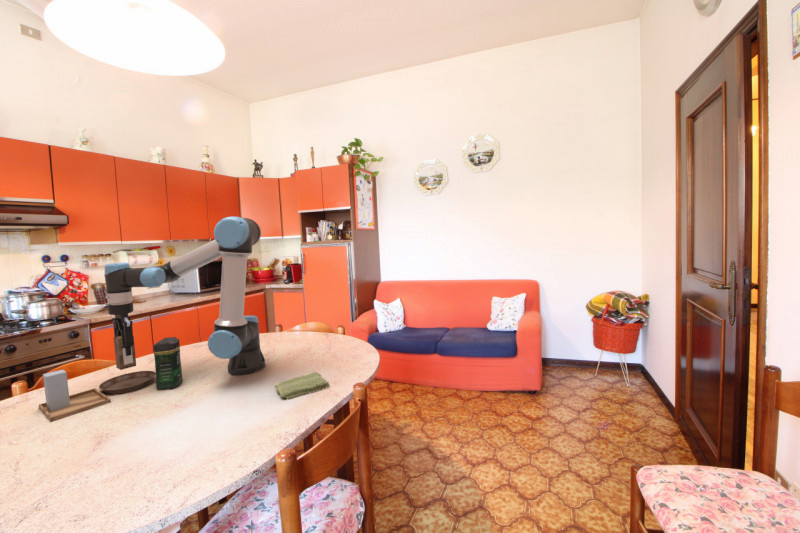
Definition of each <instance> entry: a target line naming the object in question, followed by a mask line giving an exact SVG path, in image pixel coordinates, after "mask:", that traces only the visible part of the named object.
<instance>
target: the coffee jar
mask: <svg viewBox="0 0 800 533" xmlns="http://www.w3.org/2000/svg"><path fill="white" fill-rule="evenodd" d="M152 347H153V356H154V364H155V366H154V367H155V373H156V375H155V385H156V386H155V387H156V389H157V390H164V391H165V390H170V389H174V388H176V387H178V386H180V384H181V383H182V382H183V370H182V360H181V344H180V339H179V338H177V337H176V336H170V337H163V338H162V339H160V340H159V341H157V342H156V343H154V344H153V346H152Z"/></svg>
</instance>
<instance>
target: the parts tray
mask: <svg viewBox="0 0 800 533" xmlns="http://www.w3.org/2000/svg"><path fill="white" fill-rule="evenodd" d="M69 398H70V406H67V407H64V408H61V409H58V410H54V411H51V412H50V411H49V410H48V409H47V404H46V402H44V403H39V404H38V408H39V410H40V411H41V412H42V413H43V414H44V415H45V417H46V418H47V419H48V420H49V422H51V423H53V422H56V421H59V420H61V419H64V418H68V417H70V416H74V415H77V414H81V413H83V412H86V411H90V410H92V409H96V408H99V407H100V406H105V405H108V404H110V403H111V404H112V401H111V397H108V396H107V395H105V393H104V392H101V390H98V389H97V388H91V389H88V390H84V391H81V392H77V393H74V394H71V395H70V394H69Z"/></svg>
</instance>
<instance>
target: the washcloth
mask: <svg viewBox="0 0 800 533" xmlns="http://www.w3.org/2000/svg"><path fill="white" fill-rule="evenodd" d="M329 386H330V383H329V381H328V380H326V379H325V378H324V377H323V376H322V375H321V374H320V373H319V372H317V371H314V372H311V373H308V374H304V375H300V376H297V377H294V378H289V379H286V380H283V381H282V380H281V381H280V382H278V383H277V384H275V385H274V388H275V391H276V392H277V393H278V395H279V396H280V398H281V399H282V398H285V400H287V399H288V400H292V399H294V398H293V397H295V398H297V396H298V397H301V396H304V395H303V394H305V395H307V394H306V393H308V394H310V393H309V392H311V393H314V392H313V391H315V392H317V391H316V390H318V391H320V390H319V389H321V390H323V389H322V388H325V389H327V388H328V387H329ZM326 387H327V388H326ZM300 395H301V396H300Z"/></svg>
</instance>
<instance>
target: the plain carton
mask: <svg viewBox="0 0 800 533" xmlns="http://www.w3.org/2000/svg"><path fill="white" fill-rule="evenodd" d="M42 378H43V379H42V380H43V387H44V395H45V403H46V404H47V409H48V410H49V411H50V412H51V411H54V410H58V409H61V408H64V407H67V406H70V398H69V396H70V391H69V390H70V389H69V383H68V374H67V371H65V369H61V370H60V369H59V370H55V371H51V372H47V373H42Z"/></svg>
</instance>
